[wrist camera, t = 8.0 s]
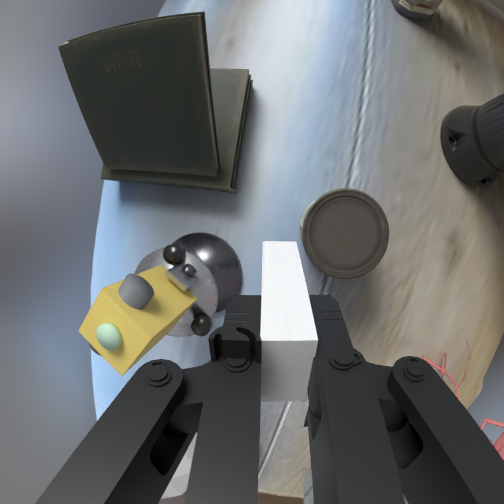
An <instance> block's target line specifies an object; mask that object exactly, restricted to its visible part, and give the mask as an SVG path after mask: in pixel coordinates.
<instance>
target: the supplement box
mask: <svg viewBox="0 0 504 504" xmlns="http://www.w3.org/2000/svg"><path fill="white" fill-rule="evenodd" d="M304 504H314V500H313V483H312V469H311V468H310V470H309V471H308V473H307V474H306V475H305V480H304Z"/></svg>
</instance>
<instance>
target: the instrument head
mask: <svg viewBox="0 0 504 504" xmlns="http://www.w3.org/2000/svg"><path fill="white" fill-rule="evenodd" d="M166 271H167V270H166V269H165V268H164V267H163V266H162V265H159V266H157V267H154V268H152V269H149V270H146V271H144V272H141V273H139V274H128V275H127V276H126V278H125V279H124V280H122V281H119V282H117V283H114V284H112V285H109V286H107V287H104V288H102V290H101V291H100V293H99V295H98V296H97V298H96V300H95V302H94V304H93V305H92V307H91V309H90V311H89V313H88V314H87V316H86V318H85V320H84V322H83V324H82V326H81V327H80V329H79V332H80V333H81V334H82V335H83V336H84V337H85V339H86V340H87V341H88V342H89V345H90V347H91V349H92V350H93V351H94V352H95V353H96V354H98V355H100V356H102V357H103V358H104V359H105V360H106V361H107V362H108V363H109V364H110V365H111V366H112V367H113V368H114V369H115V370H117V371H118V372H119V373H120V374H121V375H122V376H123V375H124V374H125V373H126V372H127V371H128V370H129V369H130V368H131V367H132V366H133V365H134V364H135V363H136V362H138V361H139V360H140V359H141V358H142V357H143V356H144V355H145V354H146V353H147V352H148V351H149V350H150V349H151V348H152V347H154V346H155V345H156V344H157V343H158V342H159V341H160V340H161V339H162V338H163V337H164V336H165V335H166V334H167V333H168V332H170V331H171V329H172V328H173V327H174V326H175V325H176V323H177V322H178V321H179V320H180V319H181V317H182V316H183V315H184V314H185V313H186V311H187V310H188V309H189V308H190V307H191V306H192V304H193V303H194V302H195V301H196V300H197V298H196V297H195V296H194V295H193V294H192V293H191V292H190V291H189V290H188V289H187V290H186V291H182V290H181V289H180V288H179V287H178V286H177V285H176V284H175V283H174V282H173V281H172V280H170V279H169V278H168V277H167V276H166V275H165V274H164V273H165V272H166Z"/></svg>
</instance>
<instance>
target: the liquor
mask: <svg viewBox="0 0 504 504" xmlns="http://www.w3.org/2000/svg"><path fill="white" fill-rule="evenodd" d="M392 2H393V4H394V7H395V9H396V10H397V11H398V12H400V13H401V14H403V15H404V16H406V17H411V18H416V19H421V20H428V19H429V18H430V17H431V16H432V15H433V13H434V12H435V11H436V9H437V8H438V6H439V5H440V3H441V2H442V0H392Z"/></svg>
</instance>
